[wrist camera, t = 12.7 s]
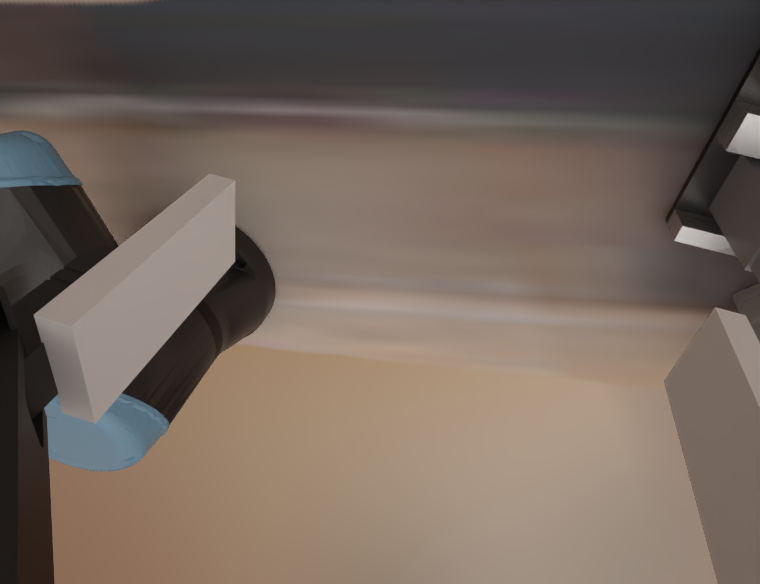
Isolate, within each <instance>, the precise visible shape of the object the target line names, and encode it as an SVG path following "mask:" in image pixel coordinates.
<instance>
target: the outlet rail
mask: <svg viewBox="0 0 760 584" xmlns="http://www.w3.org/2000/svg"><path fill="white" fill-rule="evenodd" d="M740 155H745V156H749V157H754V158H758V159H760V49H759V51H758V53H757V54H756V56H755V58H754V60H753V62H752V63H751V65H750V67H749V69H748V71H747V73H746V74H745V76H744V78H743V80H742V82H741V83H740V85H739V87H738V89H737V91H736V93H735V94H734V96H733V98H732V100H731V102H730V103H729V105H728V107H727V109H726V111H725V112H724V114H723V116H722V118H721V120H720V122H719V123H718V125H717V127H716V129H715V131H714V132H713V134H712V136H711V138H710V140H709V142H708V143H707V145H706V147H705V149H704V151H703V152H702V154H701V156H700V158H699V160H698V161H697V163H696V165H695V167H694V169H693V171H692V172H691V174H690V176H689V178H688V180H687V181H686V183H685V185H684V187H683V189H682V191H681V192H680V194H679V196H678V198H677V200H676V201H675V203H674V205H673V207H672V209H671V210H670V212H669V214H668V216H667V218H666V222H667V225H668V227H669V229H670V232H671V234H672V237H673V239H674V241H677V242H681V243H685V244H689V245H693V246H697V247H701V248H705V249H709V250H712V251H716V252H720V253H724V254H728V255H732V256H736V255H735V253H734V252H733V250H732V248H731V246H730V245H729V243H728V241H727V239H726V238H725V236H724V234H723V232H722V231H721V229H720V227H719V225H718V224H717V222H716V220H715V218H714V216H713V215H712V213H711V211H710V209H709V207H710V205H711V203H712V202H713V200H714V198H715V197H716V195H717V193H718V192H719V190H720V188H721V187H722V185H723V183H724V182H725V180H726V178H727V177H728V175H729V173H730V172H731V170H732V168H733V167H734V165H735V163H736V162H737V160H738V158H739V157H740Z"/></svg>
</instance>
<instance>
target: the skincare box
mask: <svg viewBox="0 0 760 584" xmlns="http://www.w3.org/2000/svg"><path fill="white" fill-rule="evenodd" d="M732 298H733V300H734V302H735V305H736V307H737V309H738V312H739V314H743V315H746V317H747V319H748V321H749V323H750V325H751V327H752V329H753V330H754V332H755V334H756V336H757V338H758V340H759V342H760V284H759V283H758V284H756V285H753V286H751V287H748V288H746V289H744V290H742V291H739V292H737V293H735V294H733V295H732Z"/></svg>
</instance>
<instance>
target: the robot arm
mask: <svg viewBox="0 0 760 584" xmlns="http://www.w3.org/2000/svg"><path fill="white" fill-rule="evenodd" d="M81 185H83V184H82V182H81V181H80V180H79V179H78V178H76V177H74V175H73V174H72V173H71V171H70V170H69V169H68V167H67V166H66V164H65V163H64V161H63V160H62V159H61V157H60V156H59V154H58V153H57V151H56V150H55V149H54V147H53V146H52V145H51V143H50V142H48V141H47V140H46V139H45V138H43V137H42V136H40V135H38V134H35V133H32V132H28V131H14V132H9V133H4V134H0V584H54V566H53V544H52V520H51V499H50V475H49V458H50V459H53V460H55V461H58V462H61V463H63V464H66V465H70V466H72V467H76V468H81V469H85V470H91V471H117V470H121V469H125V468H128V467H130V466H132V465H134V464H135V463H137V462H138V461H140V460H141V459H142V458H143V457H144V456H145V454H146V453H147V452H148V450H150V448H151V447H152V446H153V445H154V444H155V443H156V441H157V440H158V439H159V438H160V437H161V436H162V435H164V434H165V433H166V432H167V430H168V428H169V425H170V423H171V422H172V420H173V419H174V418H175V416H176V415H177V413H178V412H179V411H180V409H181V408H182V406H183V405H184V403H185V402H186V400H187V399H188V398H189V396H190V395H191V393H192V392H193V390H194V389H195V388H196V386H197V385H198V383H199V382H200V380H201V379H202V377H203V376H204V375H205V373H206V372H207V370H208V369H209V368H210V366H211V365H212V363H213V362H214V360H215V359H216V358H217V356H218V355H219V354H220V353H221V352H223V351H225V350H226V349H228V348H229V347H231V346H232V345H234V344H235V343H237V342H238V341H240V340H241V339H243V338H244V337H246V336H248V335H250V334H251V333H253V332H254V331H255V330H256V329H257V328H258V327H259V326H260V325H261V323H262V322H263V321H264V319H265V318H266V316H267V315H268V313H269V312H270V310H271V308H272V305H273V302H274V298H275V283H274V278H273V274H272V271H271V269H270V266H269V264H268V262H267V260H266V259H265V257H264V255H263V254H262V252H261V251H260V250H259V248H258V247H257V246H256V245H255V243H254V242H253V241H252V240H251V239H250V238H249V237H248V236H246V235H245V234H244V233H243V232H242V231H240V230H239V229H238V228H236V227H235V180H232V179H229V178H225V177H221V176H217V175H213V174H210V173H209V174H208V175H207V176H206V177H204V178H203V179H202V180H201V181H199V182H198V183H197V184H196V185H194V186H193V187H192V188H191V189H189V190H188V191H187V192H186V193H184V194H183V195H182V196H181V197H180V198H178V199H177V200H176V201H175V202H173V203H172V204H171V205H170V206H168V207H167V208H166V209H165V210H163V211H162V212H161V213H160V214H158V215H157V216H156V217H155V218H153V219H152V220H151V221H150V222H148V223H147V224H146V225H145V226H143V227H142V228H141V229H140V230H138V231H137V232H136V233H135V234H133V235H132V236H131V237H130V238H128V239H127V240H126V241H125V242H124V243H122V244H121V245H120V246H118V244H117V243H116V241H115V240H114V238H113V236H112V235H111V233H110V232H109V230H108V228H107V227H106V225H105V224H104V222H103V220H102V219H101V217H100V215H99V214H98V212H97V211H96V209H95V207H94V206H93V204H92V203H91V201H90V199H89V198H88V196H87V195H86V193H85V191H84V190H83V188H82V186H81ZM664 383H665V387H666V391H667V394H668V398H669V402H670V406H671V409H672V413H673V417H674V421H675V424H676V428H677V432H678V436H679V439H680V443H681V447H682V451H683V454H684V458H685V462H686V465H687V469H688V473H689V477H690V481H691V484H692V488H693V492H694V496H695V500H696V503H697V507H698V511H699V514H700V518H701V522H702V526H703V530H704V533H705V537H706V541H707V545H708V549H709V552H710V556H711V560H712V564H713V567H714V571H715V574H716V579H717V582H718V584H760V342H759V340H758V338H757V336H756V334H755V332H754V330H753V329H752V327H751V325H750V323H749V321H748V319H747V317H746V315H743V314H739V313H735V312H731V311H728V310H724V309H720V308H716V307H715V308H714V310H713V311H712V312H711V314H710V315H709V317H708V318H707V320H706V321H705V323H704V324H703V325H702V327H701V328H700V330H699V331H698V333H697V334H696V336H695V337H694V338H693V340H692V341H691V343H690V344H689V346H688V347H687V349H686V350H685V351H684V353H683V354H682V356H681V357H680V359H679V360H678V362H677V363H676V364H675V366H674V367H673V369H672V370H671V372H670V373H669V375H668V376H667V377H666V379H665V380H664Z"/></svg>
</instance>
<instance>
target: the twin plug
mask: <svg viewBox="0 0 760 584" xmlns="http://www.w3.org/2000/svg"><path fill="white" fill-rule="evenodd" d="M709 209H710V211H711V213H712V215H713V216H714V218H715V220H716V222H717V224H718V225H719V227H720V229H721V231H722V232H723V234H724V236H725V238H726V239H727V241H728V243H729V245H730V246H731V248H732V250H733V252H734V253H735V255H736V257H737V259H738V260H739V262H740V264H741V266H742V267H743V269H744V270H746V271H750V272H753V273H754V275H755V277H756V278H757V280H758V282H759V284H760V159H758V158H754V157H749V156H745V155H740V157H739V158H738V160H737V162H736V163H735V165H734V167H733V168H732V170H731V172H730V173H729V175H728V177H727V178H726V180H725V182H724V183H723V185H722V187H721V188H720V190H719V192H718V193H717V195H716V197H715V198H714V200H713V202H712V203H711V205H710V207H709Z"/></svg>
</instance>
